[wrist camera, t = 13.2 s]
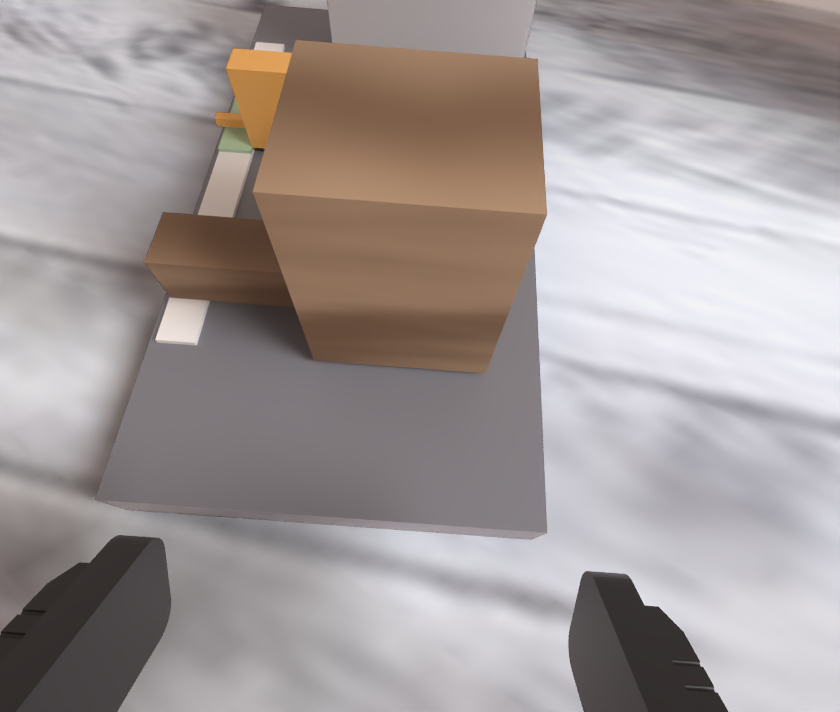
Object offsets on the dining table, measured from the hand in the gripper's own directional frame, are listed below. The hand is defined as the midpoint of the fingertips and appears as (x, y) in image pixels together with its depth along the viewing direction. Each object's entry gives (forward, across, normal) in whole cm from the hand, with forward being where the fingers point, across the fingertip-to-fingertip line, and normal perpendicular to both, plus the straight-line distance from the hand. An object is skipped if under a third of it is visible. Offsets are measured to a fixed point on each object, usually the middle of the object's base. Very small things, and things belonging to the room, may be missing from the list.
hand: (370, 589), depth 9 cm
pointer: (+16, +7, -9) cm, 20 cm away
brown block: (+10, +3, -3) cm, 11 cm away
